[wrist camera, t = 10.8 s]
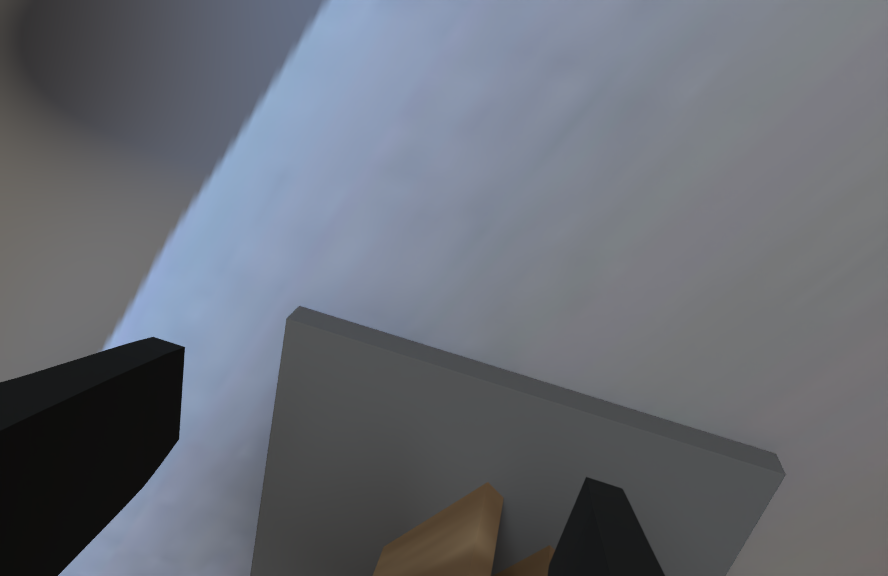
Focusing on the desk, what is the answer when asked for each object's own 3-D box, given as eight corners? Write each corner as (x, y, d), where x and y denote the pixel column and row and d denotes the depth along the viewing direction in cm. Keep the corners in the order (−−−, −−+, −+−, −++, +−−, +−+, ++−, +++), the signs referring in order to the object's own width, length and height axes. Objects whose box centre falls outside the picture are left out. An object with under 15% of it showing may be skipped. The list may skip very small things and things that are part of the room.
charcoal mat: (776, 453, 19) (786, 474, 18) (622, 720, 25) (623, 746, 24) (299, 306, 21) (286, 318, 20) (256, 589, 27) (245, 609, 26)
